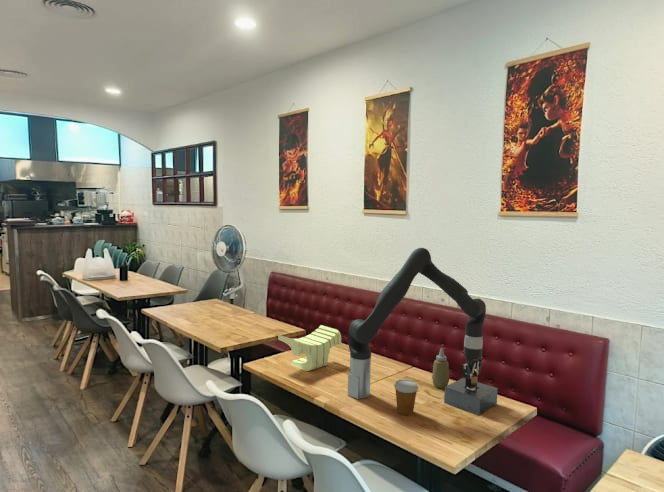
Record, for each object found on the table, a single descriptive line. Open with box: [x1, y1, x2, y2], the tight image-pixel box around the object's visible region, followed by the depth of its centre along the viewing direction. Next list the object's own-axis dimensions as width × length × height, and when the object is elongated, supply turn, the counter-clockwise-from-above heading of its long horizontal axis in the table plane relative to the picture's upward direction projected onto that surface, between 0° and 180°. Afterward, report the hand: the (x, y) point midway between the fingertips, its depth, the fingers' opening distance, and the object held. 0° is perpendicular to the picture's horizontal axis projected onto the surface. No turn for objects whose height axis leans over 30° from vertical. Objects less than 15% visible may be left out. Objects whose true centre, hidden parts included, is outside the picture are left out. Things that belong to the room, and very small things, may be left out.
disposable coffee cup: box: [393, 378, 419, 416], centre depth 176 cm, size 10×10×12 cm
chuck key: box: [465, 373, 478, 391], centre depth 186 cm, size 5×5×11 cm
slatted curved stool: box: [277, 324, 342, 372], centre depth 228 cm, size 30×16×18 cm, turn 135°
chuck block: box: [443, 377, 499, 416], centre depth 186 cm, size 16×16×7 cm
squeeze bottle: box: [431, 348, 450, 389], centre depth 204 cm, size 8×8×18 cm
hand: (471, 384), depth 186 cm, fingers closed on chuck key, 4 cm apart
